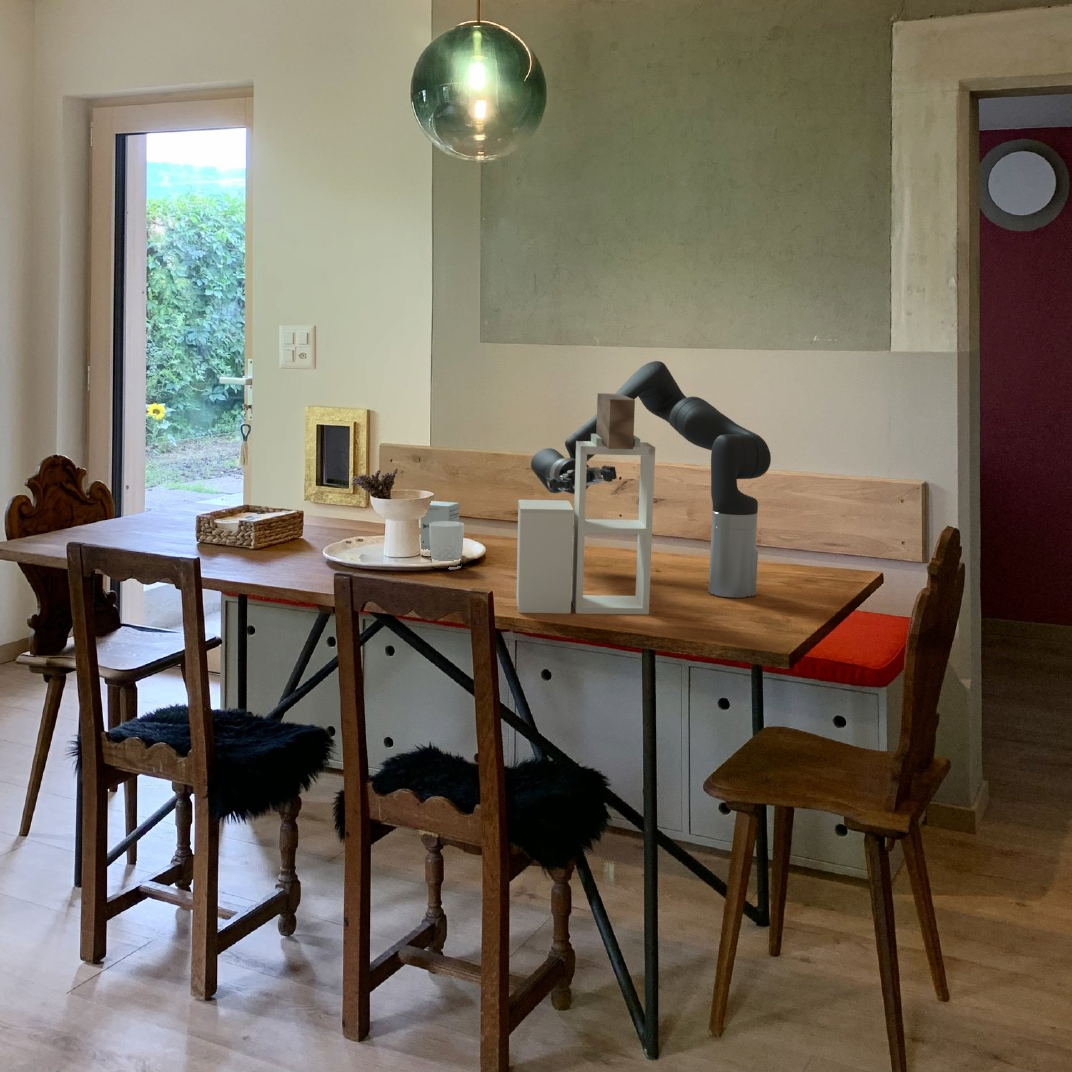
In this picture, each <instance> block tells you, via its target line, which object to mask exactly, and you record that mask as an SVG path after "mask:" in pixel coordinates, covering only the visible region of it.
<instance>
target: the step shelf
mask: <svg viewBox="0 0 1072 1072" xmlns="http://www.w3.org/2000/svg"><path fill="white" fill-rule="evenodd" d="M587 454H595V455H601V456H602V455H603V456H604V455H605V456H606V455H607V456H609V455H613V456H640V464H639V465H640V467H639V468H640V469H639V491H638V492H639V493H638V496H639V497H638V518H637V519H607V518H606V519H604V518H603V519H602V518H601V519H599V518H597V519H596V518H595V519H594V518H593V519H591V518H586V505H587V504H586V503H587V501H586V499H587V498H586V497H587V489H586V470H587V465H588V461H587ZM655 464H656V447H655V446H654V445H652V444H651V443H649V442H645V441H641V438H639V437H637V436H636V435H634V440H633V449H608V448H607V447H606V446H605V445H604V444H603V443H602V438H601V437H599V436H598V435H597V434H591V441H576V465H575V494H574V505H572V504H571V502H570V501H569V500H560V499H559V500H558V499H518V501H517V502H518V504H517V508H518V509H517V544H516V545H517V548H516V550H517V551H516V552H517V553H516V555H517V556H516V558H517V560H516V605H517V612H518V614H571V612H572V607H573V609H574V612H575V614H577V615H578V614H581V615H584V614H585V615H586V614H587V615H588V614H589V615H590V614H591V615H595V614H596V615H597V614H598V615H650V593H651V591H650V590H651V571H652V570H651V568H652V567H651V566H652V545H653V543H652V542H653V521H654V520H653V518H654V517H653V516H654V497H655V495H654V490H655V489H654V488H655V468H656V467H655ZM573 507H574V508H573ZM586 535H616V536H617V535H619V536H620V535H624V536H625V535H627V536H630V535H631V536H632V535H633V536H636V535H637V542H636V544H637V546H636V549H637V550H636V573H635V574H636V575H635V578H636V579H635V595H599V594H598V595H591V594H590V595H587V594H583V593H584V570H585V566H584V565H585V536H586ZM572 605H573V606H572Z"/></svg>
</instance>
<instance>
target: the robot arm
mask: <svg viewBox="0 0 1072 1072" xmlns="http://www.w3.org/2000/svg"><path fill="white" fill-rule="evenodd" d="M614 394H622V395H624V396H626V397H629V398H631V399H634V400H635V399H637V398H639V400H640V401H641V404H642V405H643V406H644V407H645V409H646V410H648V412H649V413H651V414H653V415H654V416H656V417H658V418H661V419H662V420H663V421H665V422H667V423H668V424H669V425H670V426H671V427H672V428H673V429H674V430H675V431H676V432H677V433H678V434H679V435H680V436H681V437H683V439H685V440H686V441H688V443H691V444H692V445H694V446H697V447H698V448H699V447H700V448H701V449H704V450H708V451H711V453H710V454H711V455H710V496H711V501H712V502H711V503H712V512H711V515H712V516H711V532H710V533H711V534H710V556H709V557H710V558H709V576H708V577H709V579H708V593H709V592H710V593H709V594H711V595H713V594H714V596H717V597H725V598H747V596H748V597H752V596H751V595H757V579H758V578H757V577H758V563H759V562H758V559H759V551H758V550H757V547H756V546H757V529H758V528H757V526H758V513H759V512H758V509H759V502H758V500H757V498H756V497H753V496H751V495H747V494H745V493H743V492H741V490H740V489H739V488H738V480H751V479H756V478H757V479H758V478H760V477H761V476H763V475H765V474H766V473H767V471H768V470H769V468H770V466H771V463H772V460H771V459H772V456H771V455H772V454H771V451H770V448H769V446H768V444H767V443H766V441H765V439H763V438H762V437H761V435H758V433H755V432H753V431H751V430H749V429H747V428H745V427H743V426H741V425H739V424H737V423H736V422H735V421H733V420H732V419H731V418H729V417H727V416H726V415H725V414H724V413H722V412H721V411H719V410H718V409H717V408H716V407H715V406H714V405H712V404H710V403H709V402H708V401H706V400H705V399H704V398H700V397H698V396H688V397H687V396H686V395H685V394H684V393H683V392H682V390H681V388H680V387H679V384H678V383H677V381H676V379H675V378H674V377H673V375H672V373H671V371H670V370H669V368H668V366H667V365H666V364H665V363H664V362H662V361H661V360H660V361H659V360H655V361H650V362H648V363H646V364H644V365H642V366H641V367H639V368H638V369H637V370H636V371H635V372H634V373H633V374H632V375H630V377H629V378H628V379H627V380H626V381H625V382H624V384H623V385H622V386H621V387H620V388H619V389H618V390H617V391H616V392H615V393H614ZM596 429H597V413H596V414H595V415H593V417H592V418H590V419H589V420H588V421H587V422H586V423H585V424H584V425H582V426H581V427H580V428H579V429H577V430H576V431H575V432H574V433H572V434H571V435H570V436H568V438H566V440H565V441H564V445H565V448H566V450H567V453H568V455H569V457H564V456H563V455H562V453H560V452H559V451H558V450H556V449H554V448H551V447H549V448H547V447H546V448H543V449H541V450H538V452H536V453H535V454H534V455H533V457H532V458H531V460H530V467H531V470H532V472H533V473H534V474H535V475H536V477H537V478H538V480H539V481H540V482H541V483H542V485H543V486H544V487H545V488H546V489H547V491H548V492H549V493H551V494H559V493H562V492H565V493H568V494H571V495H575V465H576V441H591V434H596ZM595 455H596V454H587V462H588V461H589V460H591V459H592V458H593V457H594V456H595ZM616 471H617V470H616V466H612V465H611V466H610V465H602V466H601V468H600V467H598V466H595V467H593V466H592V467H590V466H589V465H588V464H587V470H586V490H587V489H588V488H589V487H590V486H591V485H598V484H601V483H603V482H608V483H611V482H613V480H616V479H618V477H617V472H616Z"/></svg>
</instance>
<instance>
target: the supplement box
mask: <svg viewBox="0 0 1072 1072" xmlns="http://www.w3.org/2000/svg"><path fill="white" fill-rule="evenodd" d="M430 501H431V503H430V505H429V509H428V512H427V514H426V516H424V517H422V518H421V517H420V543H421V549H423V550H424V549H425V550H426V549H428V550H430V534H429V523H431V522H437V521H454V522H460V506H461V505H460V502H450V501H440V500H439V501H438V500H430Z"/></svg>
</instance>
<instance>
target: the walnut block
mask: <svg viewBox="0 0 1072 1072" xmlns="http://www.w3.org/2000/svg"><path fill="white" fill-rule="evenodd" d="M596 399H597V400H596V401H597V402H596V414H597V429H596V434H597V435H598V436H599V437H601V438H602V443H603V444H604V445H605V446H606V447H607V448H608V449H633V440H634V436H635V411H636V410H635V405H636V400H635V399H631V398H629V397H626V396H624V395H622V394H615V393H602V392H601V393H597V398H596Z"/></svg>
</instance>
